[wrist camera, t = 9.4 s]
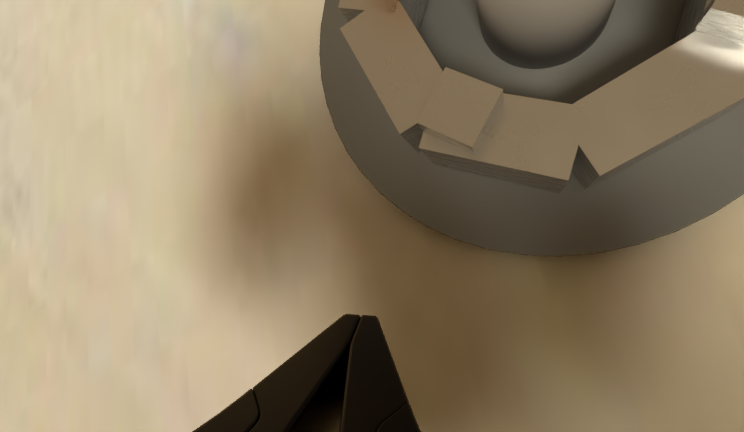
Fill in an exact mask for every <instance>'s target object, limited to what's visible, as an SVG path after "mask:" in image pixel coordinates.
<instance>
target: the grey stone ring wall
mask: <svg viewBox="0 0 744 432" xmlns="http://www.w3.org/2000/svg"><path fill="white" fill-rule="evenodd" d="M426 4H427V0H340V2H339V5H338V8H339V9H340V11H341V12H342V14H343V15H344V16H345V18H346V19H347V21H348V23H347V24H345V25H344V26H343V27H341V28H340V30H341V31H342V33H343V35H344V37H345V38H346V40H347V42H348V44H349V46H350V47H351V49H352V51H353V53H354V54H355V56H356V58H357V60H358V61H359V63H360V65H361V67H362V68H363V70H364V72H365V74H366V76H367V77H368V79H369V81H370V83H371V84H372V86H373V88H374V90H375V91H376V93H377V95H378V97H379V98H380V100H381V102H382V104H383V106H384V107H385V109H386V111H387V113H388V114H389V116H390V118H391V120H392V121H393V123H394V125H395V127H396V128H397V130H398V132H399V134H400V135H401V136H402V137H403V138H404V139H405V140H406V141H407V142H408V143H409V144H410V145H411V146H412V147H413V148H414V149H415V150H416V151H417V152H418V153H419V152H420V151H422V152H423V153H424V154H425V155H426V156H427V158H428V159H429V160H430V161H431V162H432V163H433V164H434V165H437V166H441V167H446V168H450V169H454V170H459V171H463V172H468V173H472V174H476V175H481V176H485V177H490V178H494V179H498V180H503V181H507V182H511V183H516V184H520V185H525V186H529V187H533V188H538V189H542V190H546V191H551V192H555V193H560V192H561V191H562V189H563V188H564V186H565V185H566V183H567V182H568V180H569V177H570V173H571V170H572V171H573V173H574V174H575V176H576V177H577V179H578V180H579V182H580V183H581V185H582V186H583V188H584V189H585V190H586V189H588V188H590V187H592V186H593V185H595V184H597V183H599V182H601V181H603V180H605V179H607V178H608V177H610V176H612V175H614V174H616V173H618V172H620V171H621V170H623V169H625V168H627V167H629V166H631V165H633V164H634V163H636V162H638V161H640V160H642V159H644V158H646V157H647V156H649V155H651V154H653V153H655V152H657V151H659V150H660V149H662V148H664V147H666V146H668V145H670V144H672V143H673V142H675V141H677V140H679V139H681V138H683V137H685V136H686V135H688V134H690V133H692V132H694V131H696V130H698V129H700V128H701V127H703V126H705V125H707V124H709V123H711V122H713V121H714V120H716V119H718V118H720V117H722V116H723V115H725V114H726V113H728V112H729V111H731V110H732V109H734V108H735V107H737V106H738V105H740V104H741V103H743V102H744V0H686V1H685V4H684V8H683V11H682V15H681V18H680V22H679V25H678V29H677V32H676V36H675V39H674V43H673V45H671V46H670V47H668V48H666V49H664V50H663V51H661V52H659V53H658V54H656V55H654V56H653V57H651V58H649V59H648V60H646V61H644V62H643V63H641V64H639V65H637V66H636V67H634V68H632V69H631V70H629V71H627V72H626V73H624V74H622V75H621V76H619V77H617V78H616V79H614V80H612V81H610V82H609V83H607V84H605V85H604V86H602V87H600V88H599V89H597V90H595V91H594V92H592V93H590V94H589V95H587V96H585V97H583V98H582V99H580V100H578V101H577V102H575V103H573V104H567V103H561V102H555V101H549V100H542V99H536V98H530V97H524V96H518V95H511V94H505V93H503V89H502V88H499V87H496V86H494V85H491V84H489V83H486V82H483V81H481V80H478V79H476V78H473V77H471V76H468V75H465V74H463V73H460V72H458V71H455V70H452V69H450V68H447V67H445V69H444V71H442V69H441V68H440V66H439V64H438V63H437V61H436V60H435V58H434V56H433V55H432V53H431V52H430V50H429V48H428V47H427V45H426V44H425V42H424V40H423V39H422V37H421V35H420V34H419V28H420V25H421V21H422V18H423V14H424V11H425V7H426Z"/></svg>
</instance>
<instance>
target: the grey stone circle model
mask: <svg viewBox="0 0 744 432" xmlns="http://www.w3.org/2000/svg"><path fill="white" fill-rule="evenodd" d="M685 1H686V0H427V4H426V7H425V11H424V14H423V18H422V21H421V25H420V28H419V34H420V35H421V37H422V39H423V40H424V42H425V44H426V45H427V47H428V48H429V50H430V52H431V53H432V55H433V56H434V58H435V60H436V61H437V63H438V64H439V66H440V68H441V69H442V71H444V69H445V67H447V68H450V69H452V70H455V71H458V72H460V73H463V74H465V75H468V76H471V77H473V78H476V79H478V80H481V81H483V82H486V83H489V84H491V85H494V86H496V87H499V88H502V89H503V93H505V94H511V95H518V96H524V97H530V98H536V99H542V100H549V101H555V102H561V103H567V104H573V103H575V102H577V101H578V100H580V99H582V98H583V97H585V96H587V95H589V94H590V93H592V92H594V91H595V90H597V89H599V88H600V87H602V86H604V85H605V84H607V83H609V82H610V81H612V80H614V79H616V78H617V77H619V76H621V75H622V74H624V73H626V72H627V71H629V70H631V69H632V68H634V67H636V66H637V65H639V64H641V63H643V62H644V61H646V60H648V59H649V58H651V57H653V56H654V55H656V54H658V53H659V52H661V51H663V50H664V49H666V48H668V47H670V46H671V45H673V43H674V39H675V36H676V32H677V29H678V25H679V22H680V18H681V15H682V11H683V8H684V4H685ZM339 2H340V0H325V5H324V11H323V17H322V23H321V33H320V65H321V78H322V84H323V88H324V93H325V98H326V103H327V106H328V109H329V112H330V115H331V117H332V120H333V123H334V126H335V129H336V131H337V133H338V135H339V137H340V138H341V140H342V142H343V144H344V146H345V148H346V150H347V152H348V153H349V155H350V156H351V158H352V159H353V161H354V162H355V163H356V165H357V166H358V168H359V169H360V170H361V172H362V173H363V175H364V176H365V177H366V178H367V179H368V180H369V181H370V182H371V183H372V184H373V185H374V186H375V187H376V188H377V190H378V191H379V192H380V193H381V194H382V195H383V196H385V197H386V198H387V199H388V200H390V201H391V202H392V203H393V204H395V205H396V206H397V207H398V208H400V209H401V210H402V211H403V212H405V213H406V214H408V215H410V216H411V217H413V218H414V219H416V220H418V221H419V222H421V223H423V224H424V225H426V226H428V227H429V228H431V229H434V230H436V231H438V232H441V233H443V234H445V235H447V236H450V237H452V238H454V239H457V240H459V241H463V242H466V243H469V244H473V245H476V246H480V247H483V248H487V249H490V250H496V251H502V252H508V253H515V254H521V255H540V256H568V255H579V254H591V253H600V252H605V251H609V250H614V249H619V248H624V247H628V246H633V245H637V244H640V243H643V242H646V241H649V240H652V239H655V238H658V237H661V236H664V235H667V234H670V233H673V232H676V231H678V230H680V229H682V228H684V227H686V226H688V225H690V224H692V223H695V222H697V221H699V220H701V219H703V218H705V217H707V216H709V215H711V214H713V213H715V212H716V211H718V210H719V209H721V208H723V207H724V206H726V205H727V204H729V203H730V202H732V201H734V200H735V199H737V198H738V197H740V196H741V195H743V194H744V102H743V103H741V104H740V105H738V106H737V107H735V108H734V109H732V110H731V111H729V112H728V113H726V114H725V115H723V116H722V117H720V118H718V119H716V120H714V121H713V122H711V123H709V124H707V125H705V126H703V127H701V128H700V129H698V130H696V131H694V132H692V133H690V134H688V135H686V136H685V137H683V138H681V139H679V140H677V141H675V142H673V143H672V144H670V145H668V146H666V147H664V148H662V149H660V150H659V151H657V152H655V153H653V154H651V155H649V156H647V157H646V158H644V159H642V160H640V161H638V162H636V163H634V164H633V165H631V166H629V167H627V168H625V169H623V170H621V171H620V172H618V173H616V174H614V175H612V176H610V177H608V178H607V179H605V180H603V181H601V182H599V183H597V184H595V185H593V186H592V187H590V188H588V189H586V190H585V189H584V188H583V186H582V185H581V183H580V182H579V180H578V179H577V177H576V176H575V174H574V173H573V171H572V170H571V173H570V177H569V180H568V182H567V183H566V185H565V186H564V188H563V189H562V191H561V192H560V193H555V192H551V191H546V190H542V189H538V188H533V187H529V186H525V185H520V184H516V183H511V182H507V181H503V180H498V179H494V178H490V177H485V176H481V175H476V174H472V173H468V172H463V171H459V170H454V169H450V168H446V167H441V166H437V165H434V164H433V163H432V162H431V161H430V160H429V159H428V158H427V156H426V155H425V154H424V153H423V152H422V151H420V152H419V153H418V152H417V151H416V150H415V149H414V148H413V147H412V146H411V145H410V144H409V143H408V142H407V141H406V140H405V139H404V138H403V137H402V136H401V135H400V134H399V132H398V130H397V128H396V127H395V125H394V123H393V121H392V120H391V118H390V116H389V114H388V113H387V111H386V109H385V107H384V106H383V104H382V102H381V100H380V98H379V97H378V95H377V93H376V91H375V90H374V88H373V86H372V84H371V83H370V81H369V79H368V77H367V76H366V74H365V72H364V70H363V68H362V67H361V65H360V63H359V61H358V60H357V58H356V56H355V54H354V53H353V51H352V49H351V47H350V46H349V44H348V42H347V40H346V38H345V37H344V35H343V33H342V31H341V30H340V28H341V27H343V26H344V25H345V24H347V23H348V21H347V19H346V18H345V16H344V15H343V14H342V12H341V11H340V9H339V8H338V5H339Z"/></svg>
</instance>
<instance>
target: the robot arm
mask: <svg viewBox="0 0 744 432" xmlns="http://www.w3.org/2000/svg"><path fill="white" fill-rule="evenodd" d="M193 432H421V431H420V429H419V426H418V424H417V421H416V419H415V417H414V414H413V411H412V409H411V406H410V404H409V402H408V399H407V396H406V393H405V391H404V388H403V385H402V382H401V380H400V377H399V374H398V372H397V369H396V366H395V363H394V361H393V358H392V355H391V353H390V350H389V347H388V344H387V342H386V339H385V336H384V334H383V331H382V328H381V325H380V323H379V320H378V318H377V317H376V316H369V315H363V316H361V317H360V316H359V315H354V314H345V315H343V316H342V317H341V318H339V319H338V320H337V321H336V322H334V323H333V324H332V325H331V326H329V327H328V328H327V329H326V330H324V331H323V332H322V333H321V334H319V335H318V336H317V337H316V338H314V339H313V340H312V341H311V342H309V343H308V344H307V345H306V346H304V347H303V348H302V349H301V350H299V351H298V352H297V353H296V354H294V355H293V356H292V357H291V358H289V359H288V360H287V361H286V362H284V363H283V364H282V365H281V366H279V367H278V368H277V369H276V370H274V371H273V372H272V373H271V374H269V375H268V376H267V377H266V378H264V379H263V380H262V381H261V382H259V383H258V384H257V385H256V386H254V387H253V390H252V389H250V390H249V391H247V392H246V393H245V394H244V395H242V396H241V397H240V398H239V399H237V400H236V401H235V402H233V403H232V404H231V405H229V406H228V407H227V408H225V409H224V410H223V411H221V412H220V413H219V414H217V415H216V416H214V417H213V418H212V419H210V420H209V421H207V422H206V423H204V424H203V425H201V426H200V427H199V428H197V429H196V430H194V431H193Z"/></svg>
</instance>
